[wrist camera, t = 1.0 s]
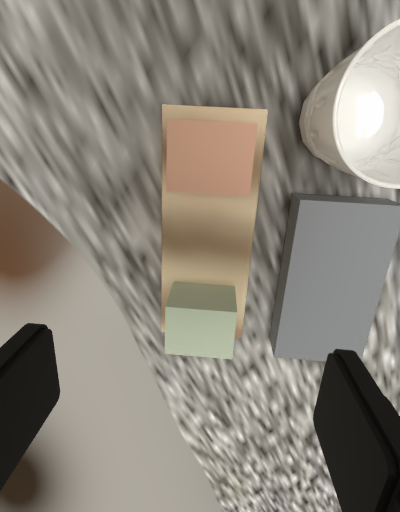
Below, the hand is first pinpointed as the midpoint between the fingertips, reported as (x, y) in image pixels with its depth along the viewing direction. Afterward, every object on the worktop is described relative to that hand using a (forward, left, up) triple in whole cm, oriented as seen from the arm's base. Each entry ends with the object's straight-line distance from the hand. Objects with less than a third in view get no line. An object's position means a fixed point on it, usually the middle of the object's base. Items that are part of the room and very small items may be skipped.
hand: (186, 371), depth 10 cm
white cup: (-9, +10, -19) cm, 24 cm away
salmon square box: (-6, 0, -14) cm, 16 cm away
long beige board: (0, 0, -19) cm, 19 cm away
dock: (+4, +11, -19) cm, 22 cm away
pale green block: (+6, 0, -14) cm, 15 cm away
